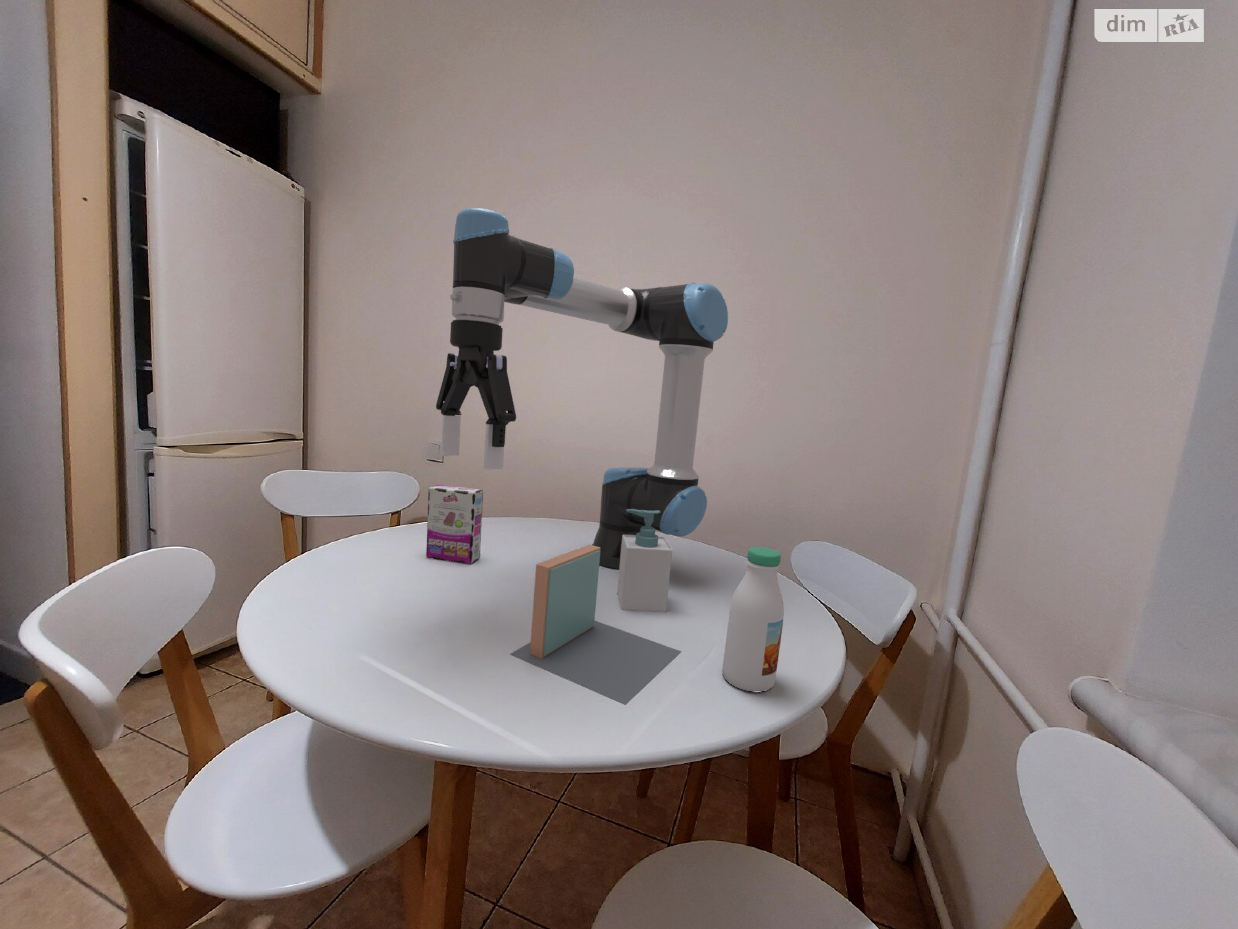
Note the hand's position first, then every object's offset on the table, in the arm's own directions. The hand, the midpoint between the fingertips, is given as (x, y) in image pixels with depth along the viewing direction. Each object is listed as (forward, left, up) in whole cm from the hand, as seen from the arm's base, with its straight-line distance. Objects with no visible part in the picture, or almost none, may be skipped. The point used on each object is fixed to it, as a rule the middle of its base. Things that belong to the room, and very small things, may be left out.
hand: (470, 462), depth 80 cm
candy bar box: (-15, -33, -28) cm, 46 cm away
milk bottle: (-27, +37, -28) cm, 54 cm away
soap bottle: (-33, +9, -28) cm, 44 cm away
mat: (-13, +19, -28) cm, 36 cm away
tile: (-11, +13, -27) cm, 32 cm away
